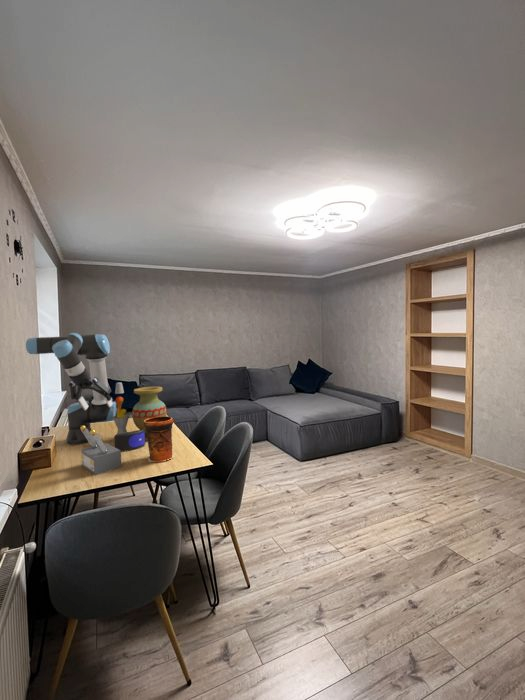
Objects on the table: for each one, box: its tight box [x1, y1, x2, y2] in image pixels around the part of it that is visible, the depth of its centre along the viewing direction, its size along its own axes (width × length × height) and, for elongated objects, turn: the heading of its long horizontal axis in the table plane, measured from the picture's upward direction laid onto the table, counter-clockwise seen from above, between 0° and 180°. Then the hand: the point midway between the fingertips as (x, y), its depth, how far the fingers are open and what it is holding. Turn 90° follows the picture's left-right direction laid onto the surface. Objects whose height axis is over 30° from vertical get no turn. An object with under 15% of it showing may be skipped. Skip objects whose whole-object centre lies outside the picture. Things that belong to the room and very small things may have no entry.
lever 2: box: [90, 429, 107, 453], centre depth 158 cm, size 3×2×13 cm
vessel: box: [144, 416, 175, 463], centre depth 173 cm, size 14×14×20 cm
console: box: [80, 443, 123, 476], centre depth 165 cm, size 17×13×8 cm
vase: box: [131, 386, 167, 442], centre depth 208 cm, size 20×20×30 cm
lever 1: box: [80, 425, 97, 448], centre depth 167 cm, size 3×2×13 cm
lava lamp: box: [113, 382, 130, 434], centre depth 203 cm, size 9×9×35 cm
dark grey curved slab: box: [113, 429, 146, 453], centre depth 189 cm, size 16×5×9 cm, turn 124°
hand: (98, 406), depth 168 cm, fingers open, 13 cm apart
